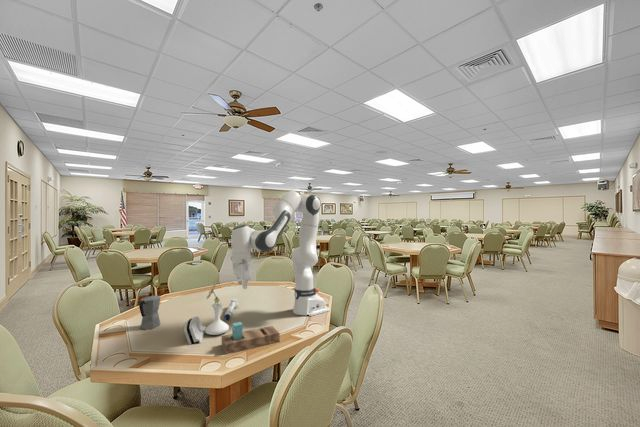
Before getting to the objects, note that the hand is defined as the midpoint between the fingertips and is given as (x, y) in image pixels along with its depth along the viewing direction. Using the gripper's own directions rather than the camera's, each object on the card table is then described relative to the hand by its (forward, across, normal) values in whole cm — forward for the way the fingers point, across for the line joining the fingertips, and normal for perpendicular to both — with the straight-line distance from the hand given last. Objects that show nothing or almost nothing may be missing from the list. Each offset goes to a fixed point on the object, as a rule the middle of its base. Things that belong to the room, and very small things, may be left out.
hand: (242, 286), depth 136 cm
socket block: (+24, -10, 0) cm, 26 cm away
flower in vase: (+24, +10, +11) cm, 28 cm away
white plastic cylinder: (+24, +37, -2) cm, 44 cm away
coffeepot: (+23, +36, +41) cm, 59 cm away
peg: (+24, -10, +6) cm, 26 cm away
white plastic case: (+24, +11, +21) cm, 33 cm away
